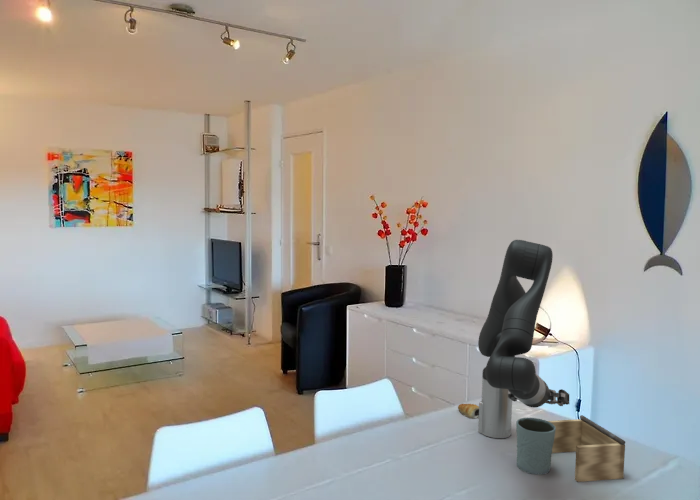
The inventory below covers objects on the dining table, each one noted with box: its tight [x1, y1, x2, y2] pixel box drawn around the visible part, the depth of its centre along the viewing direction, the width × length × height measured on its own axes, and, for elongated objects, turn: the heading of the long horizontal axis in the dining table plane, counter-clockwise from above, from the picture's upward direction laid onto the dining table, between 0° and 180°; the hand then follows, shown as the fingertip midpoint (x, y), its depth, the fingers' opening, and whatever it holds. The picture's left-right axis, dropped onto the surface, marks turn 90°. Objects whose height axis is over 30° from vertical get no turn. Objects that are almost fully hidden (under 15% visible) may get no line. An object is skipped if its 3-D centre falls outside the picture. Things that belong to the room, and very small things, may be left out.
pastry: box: [457, 403, 479, 420], centre depth 193 cm, size 9×7×4 cm
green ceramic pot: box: [515, 417, 556, 476], centre depth 152 cm, size 10×10×12 cm
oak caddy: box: [547, 414, 626, 483], centre depth 155 cm, size 13×18×10 cm
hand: (544, 401), depth 149 cm, fingers open, 8 cm apart
